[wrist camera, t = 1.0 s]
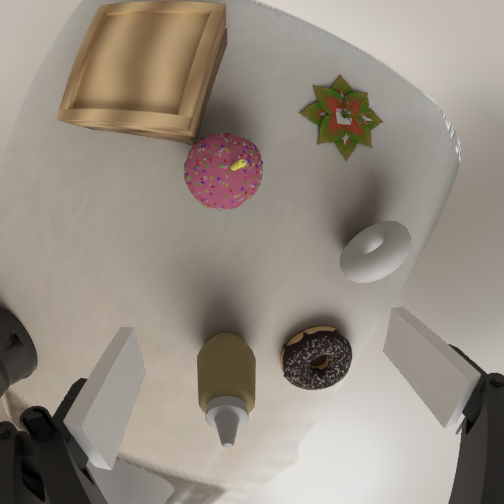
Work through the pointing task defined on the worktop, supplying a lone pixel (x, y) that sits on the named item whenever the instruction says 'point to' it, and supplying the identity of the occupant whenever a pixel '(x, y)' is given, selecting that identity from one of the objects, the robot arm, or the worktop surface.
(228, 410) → the squeeze bottle
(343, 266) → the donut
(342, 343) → the donut
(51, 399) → the worktop surface
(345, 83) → the lily flower
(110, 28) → the tower top
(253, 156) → the cupcake
